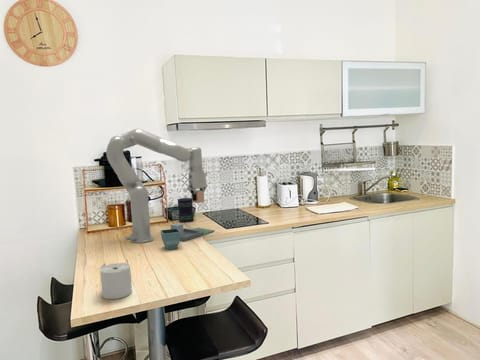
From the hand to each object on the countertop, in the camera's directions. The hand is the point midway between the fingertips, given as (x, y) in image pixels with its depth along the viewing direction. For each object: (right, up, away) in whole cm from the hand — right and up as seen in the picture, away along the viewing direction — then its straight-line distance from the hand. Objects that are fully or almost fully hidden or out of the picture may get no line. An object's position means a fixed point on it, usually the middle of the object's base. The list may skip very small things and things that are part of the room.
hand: (198, 199), depth 226 cm
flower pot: (-11, -24, -26) cm, 37 cm away
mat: (+1, -19, +4) cm, 20 cm away
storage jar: (-12, -17, +34) cm, 40 cm away
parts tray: (-7, -21, -6) cm, 23 cm away
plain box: (-11, -21, -5) cm, 24 cm away
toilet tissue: (-22, -31, -82) cm, 90 cm away
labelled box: (0, -2, 0) cm, 2 cm away
